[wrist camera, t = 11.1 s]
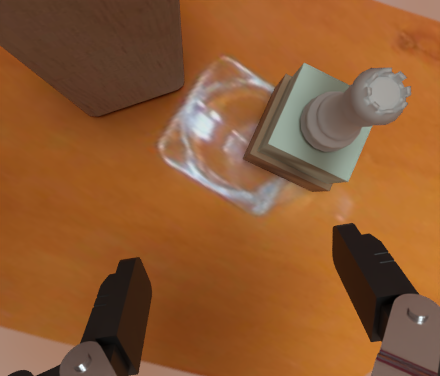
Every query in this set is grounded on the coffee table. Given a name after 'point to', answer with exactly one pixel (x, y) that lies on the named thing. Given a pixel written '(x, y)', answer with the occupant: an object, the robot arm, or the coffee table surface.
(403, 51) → the coffee table surface
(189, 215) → the coffee table surface
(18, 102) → the coffee table surface
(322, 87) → the tower base
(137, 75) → the block
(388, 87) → the rook chess piece
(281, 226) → the coffee table surface
